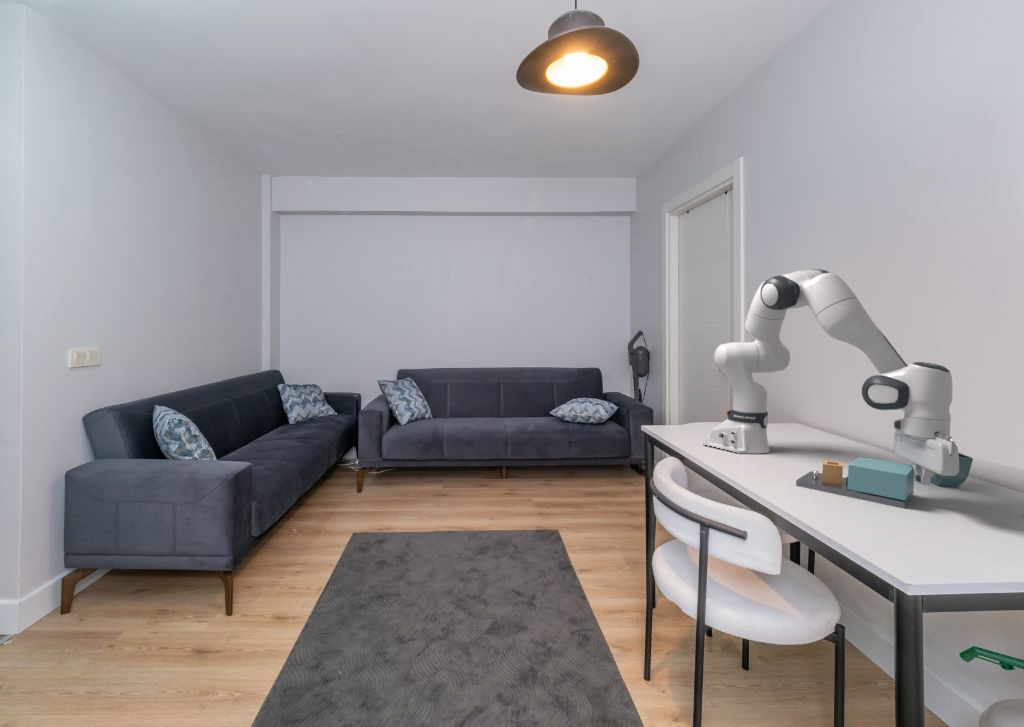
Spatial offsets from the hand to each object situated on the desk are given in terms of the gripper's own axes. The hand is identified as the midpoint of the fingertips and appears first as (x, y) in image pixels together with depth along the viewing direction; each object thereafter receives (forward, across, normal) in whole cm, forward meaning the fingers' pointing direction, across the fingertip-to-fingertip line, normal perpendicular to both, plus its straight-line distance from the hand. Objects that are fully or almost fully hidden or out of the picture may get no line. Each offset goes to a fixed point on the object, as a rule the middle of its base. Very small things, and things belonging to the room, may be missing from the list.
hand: (922, 483), depth 123 cm
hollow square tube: (+4, +11, +16) cm, 20 cm away
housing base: (+5, +8, +12) cm, 15 cm away
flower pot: (+6, +20, -16) cm, 26 cm away
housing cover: (+4, +5, +7) cm, 9 cm away
